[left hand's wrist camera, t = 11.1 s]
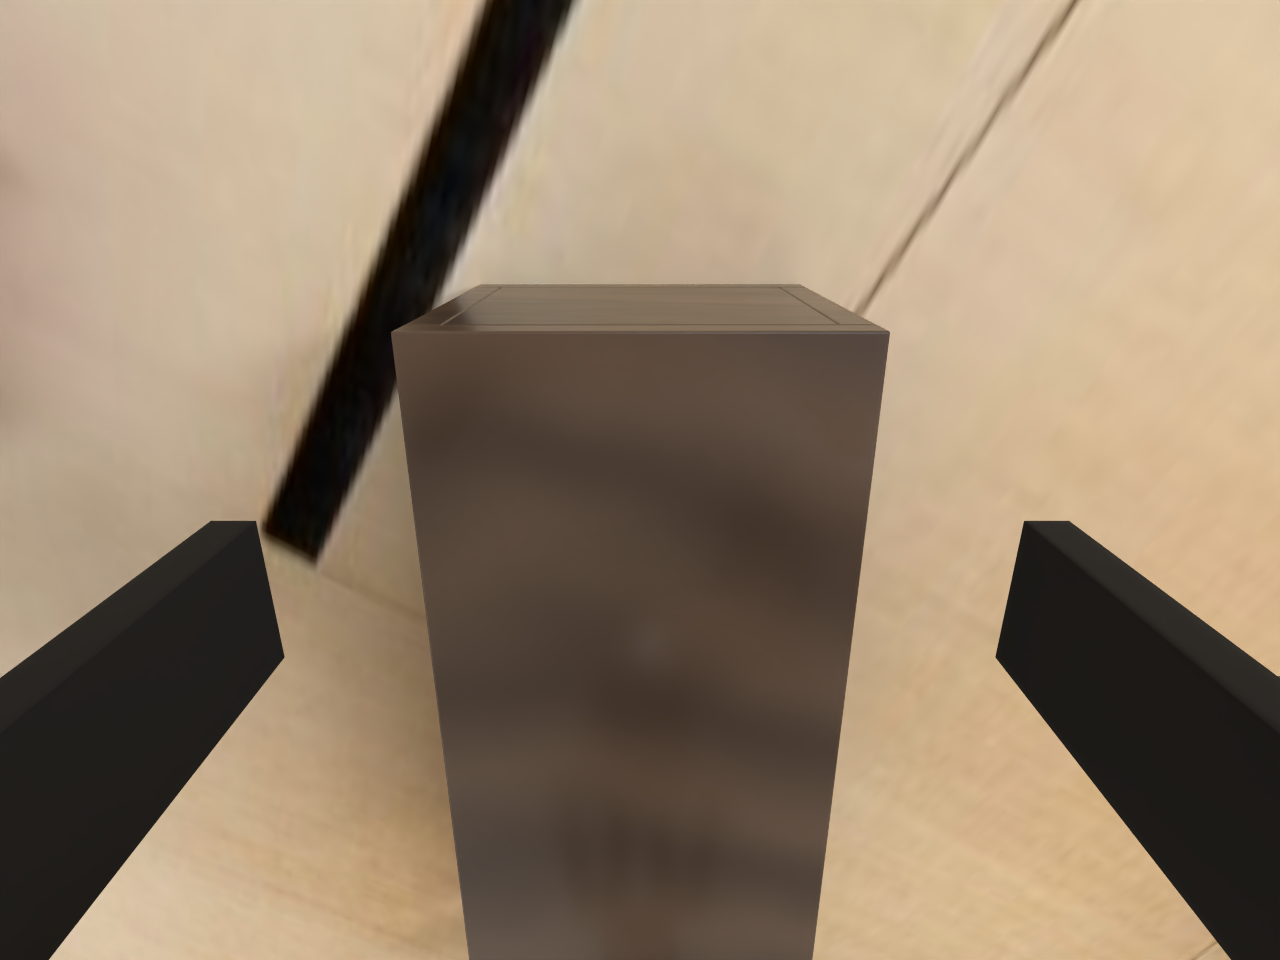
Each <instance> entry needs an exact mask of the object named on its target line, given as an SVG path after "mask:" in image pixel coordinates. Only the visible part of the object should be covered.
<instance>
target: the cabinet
mask: <svg viewBox="0 0 1280 960" xmlns="http://www.w3.org/2000/svg"><path fill="white" fill-rule="evenodd" d="M391 336H392V344H393V352H394V360H395V368H396V376H397V384H398V392H399V400H400V408H401V416H402V424H403V432H404V440H405V448H406V456H407V464H408V472H409V480H410V488H411V496H412V504H413V512H414V520H415V528H416V536H417V544H418V552H419V560H420V568H421V576H422V584H423V592H424V600H425V608H426V616H427V624H428V632H429V640H430V648H431V656H432V665H433V673H434V681H435V689H436V697H437V705H438V713H439V721H440V729H441V737H442V745H443V753H444V761H445V769H446V777H447V785H448V793H449V801H450V809H451V817H452V825H453V833H454V841H455V849H456V857H457V865H458V873H459V881H460V889H461V897H462V905H463V913H464V921H465V929H466V937H467V945H468V953H469V960H812V957H813V949H814V941H815V933H816V925H817V917H818V909H819V901H820V893H821V885H822V877H823V869H824V861H825V852H826V844H827V836H828V828H829V820H830V812H831V804H832V796H833V788H834V780H835V772H836V764H837V756H838V747H839V739H840V731H841V723H842V715H843V707H844V699H845V691H846V683H847V675H848V667H849V659H850V651H851V642H852V634H853V626H854V618H855V610H856V602H857V594H858V586H859V578H860V570H861V562H862V554H863V546H864V537H865V529H866V521H867V513H868V505H869V497H870V489H871V481H872V473H873V465H874V457H875V449H876V441H877V432H878V424H879V416H880V408H881V400H882V392H883V384H884V376H885V368H886V360H887V352H888V344H889V336H890V332H889V331H887V330H886V329H884V328H882V327H880V326H878V325H876V324H874V323H872V322H870V321H868V320H866V319H864V318H862V317H860V316H859V315H857V314H855V313H853V312H851V311H849V310H847V309H845V308H843V307H841V306H840V305H838V304H836V303H834V302H832V301H830V300H828V299H826V298H824V297H823V296H821V295H819V294H817V293H815V292H813V291H811V290H809V289H807V288H806V287H804V286H802V285H479V286H477V287H475V288H474V289H472V290H470V291H468V292H466V293H464V294H462V295H460V296H458V297H457V298H455V299H453V300H451V301H449V302H447V303H445V304H443V305H441V306H440V307H438V308H436V309H434V310H432V311H430V312H428V313H426V314H425V315H423V316H421V317H419V318H417V319H415V320H413V321H411V322H409V323H408V324H406V325H404V326H402V327H400V328H398V329H396V330H394V331H392V333H391Z"/></svg>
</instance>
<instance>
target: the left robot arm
mask: <svg viewBox="0 0 1280 960" xmlns="http://www.w3.org/2000/svg"><path fill="white" fill-rule="evenodd" d="M283 659H284V652H283V648H282V643H281V638H280V633H279V629H278V624H277V619H276V614H275V610H274V605H273V600H272V595H271V591H270V586H269V581H268V576H267V572H266V567H265V562H264V557H263V553H262V548H261V543H260V538H259V534H258V529H257V524H256V521H210V522H209V523H208V524H206V525H205V526H204V527H202V528H201V529H200V530H198V531H197V532H196V533H194V534H193V535H192V536H190V537H189V538H187V539H186V540H185V541H183V542H182V543H181V544H179V545H178V546H177V547H175V548H174V549H173V550H171V551H170V552H169V553H167V554H166V555H165V556H163V557H162V558H161V559H159V560H158V561H157V562H155V563H154V564H153V565H151V566H150V567H149V568H147V569H146V570H145V571H143V572H142V573H141V574H139V575H138V576H137V577H135V578H134V579H132V580H131V581H130V582H128V583H127V584H126V585H124V586H123V587H122V588H120V589H119V590H118V591H116V592H115V593H114V594H112V595H111V596H110V597H108V598H107V599H106V600H104V601H103V602H102V603H100V604H99V605H98V606H96V607H95V608H94V609H92V610H91V611H90V612H88V613H87V614H86V615H84V616H83V617H82V618H80V619H79V620H77V621H76V622H75V623H73V624H72V625H71V626H69V627H68V628H67V629H65V630H64V631H63V632H61V633H60V634H59V635H57V636H56V637H55V638H53V639H52V640H51V641H49V642H48V643H47V644H45V645H44V646H43V647H41V648H40V649H39V650H37V651H36V652H35V653H33V654H32V655H31V656H29V657H28V658H27V659H25V660H24V661H22V662H21V663H20V664H18V665H17V666H16V667H14V668H13V669H12V670H10V671H9V672H8V673H6V674H5V675H4V676H2V677H1V678H0V960H49V959H50V957H51V956H52V955H53V954H54V952H55V951H56V950H57V948H58V947H59V946H60V945H61V943H62V942H63V941H64V939H65V938H66V937H67V936H68V934H69V933H70V932H71V930H72V929H73V928H74V927H75V925H76V924H77V923H78V922H79V920H80V919H81V918H82V916H83V915H84V914H85V913H86V911H87V910H88V909H89V907H90V906H91V905H92V904H93V902H94V901H95V900H96V898H97V897H98V896H99V895H100V893H101V892H102V891H103V889H104V888H105V887H106V886H107V884H108V883H109V882H110V880H111V879H112V878H113V877H114V875H115V874H116V873H117V871H118V870H119V869H120V868H121V866H122V865H123V864H124V863H125V861H126V860H127V859H128V857H129V856H130V855H131V854H132V852H133V851H134V850H135V848H136V847H137V846H138V845H139V843H140V842H141V841H142V839H143V838H144V837H145V836H146V834H147V833H148V832H149V830H150V829H151V828H152V827H153V825H154V824H155V823H156V821H157V820H158V819H159V818H160V816H161V815H162V814H163V812H164V811H165V810H166V809H167V807H168V806H169V805H170V803H171V802H172V801H173V800H174V798H175V797H176V796H177V795H178V793H179V792H180V791H181V789H182V788H183V787H184V786H185V784H186V783H187V782H188V780H189V779H190V778H191V777H192V775H193V774H194V773H195V771H196V770H197V769H198V768H199V766H200V765H201V764H202V762H203V761H204V760H205V759H206V757H207V756H208V755H209V753H210V752H211V751H212V750H213V748H214V747H215V746H216V744H217V743H218V742H219V741H220V739H221V738H222V737H223V735H224V734H225V733H226V732H227V730H228V729H229V728H230V727H231V725H232V724H233V723H234V721H235V720H236V719H237V718H238V716H239V715H240V714H241V712H242V711H243V710H244V709H245V707H246V706H247V705H248V703H249V702H250V701H251V700H252V698H253V697H254V696H255V694H256V693H257V692H258V691H259V689H260V688H261V687H262V685H263V684H264V683H265V682H266V680H267V679H268V678H269V676H270V675H271V674H272V673H273V671H274V670H275V669H276V668H277V666H278V665H279V664H280V662H281V661H282V660H283ZM996 659H997V660H998V661H999V662H1000V664H1001V665H1002V666H1003V668H1004V669H1005V670H1006V671H1007V673H1008V674H1009V675H1010V676H1011V678H1012V679H1013V680H1014V682H1015V683H1016V684H1017V685H1018V687H1019V688H1020V689H1021V691H1022V692H1023V693H1024V694H1025V696H1026V697H1027V698H1028V700H1029V701H1030V702H1031V703H1032V705H1033V706H1034V707H1035V709H1036V710H1037V711H1038V712H1039V714H1040V715H1041V716H1042V718H1043V719H1044V720H1045V721H1046V723H1047V724H1048V725H1049V727H1050V728H1051V729H1052V730H1053V732H1054V733H1055V734H1056V735H1057V737H1058V738H1059V739H1060V741H1061V742H1062V743H1063V744H1064V746H1065V747H1066V748H1067V750H1068V751H1069V752H1070V753H1071V755H1072V756H1073V757H1074V759H1075V760H1076V761H1077V762H1078V764H1079V765H1080V766H1081V768H1082V769H1083V770H1084V771H1085V773H1086V774H1087V775H1088V777H1089V778H1090V779H1091V780H1092V782H1093V783H1094V784H1095V786H1096V787H1097V788H1098V789H1099V791H1100V792H1101V793H1102V795H1103V796H1104V797H1105V798H1106V800H1107V801H1108V802H1109V803H1110V805H1111V806H1112V807H1113V809H1114V810H1115V811H1116V812H1117V814H1118V815H1119V816H1120V818H1121V819H1122V820H1123V821H1124V823H1125V824H1126V825H1127V827H1128V828H1129V829H1130V830H1131V832H1132V833H1133V834H1134V836H1135V837H1136V838H1137V839H1138V841H1139V842H1140V843H1141V845H1142V846H1143V847H1144V848H1145V850H1146V851H1147V852H1148V854H1149V855H1150V856H1151V857H1152V859H1153V860H1154V861H1155V863H1156V864H1157V865H1158V866H1159V868H1160V869H1161V870H1162V871H1163V873H1164V874H1165V875H1166V877H1167V878H1168V879H1169V880H1170V882H1171V883H1172V884H1173V886H1174V887H1175V888H1176V889H1177V891H1178V892H1179V893H1180V895H1181V896H1182V897H1183V898H1184V900H1185V901H1186V902H1187V904H1188V905H1189V906H1190V907H1191V909H1192V910H1193V911H1194V913H1195V914H1196V915H1197V916H1198V918H1199V919H1200V920H1201V922H1202V923H1203V924H1204V925H1205V927H1206V928H1207V929H1208V930H1209V932H1210V933H1211V934H1212V936H1213V937H1214V938H1215V939H1216V941H1217V942H1218V943H1219V945H1220V946H1221V947H1222V948H1223V950H1224V951H1225V952H1226V954H1227V955H1228V956H1229V957H1230V959H1231V960H1280V676H1276V675H1275V674H1274V673H1272V672H1271V671H1270V670H1268V669H1267V668H1266V667H1264V666H1263V665H1262V664H1260V663H1259V662H1258V661H1256V660H1255V659H1253V658H1252V657H1251V656H1249V655H1248V654H1247V653H1245V652H1244V651H1243V650H1241V649H1240V648H1239V647H1237V646H1236V645H1235V644H1233V643H1232V642H1231V641H1229V640H1228V639H1227V638H1225V637H1224V636H1223V635H1221V634H1220V633H1219V632H1217V631H1216V630H1215V629H1213V628H1212V627H1211V626H1209V625H1208V624H1207V623H1205V622H1204V621H1202V620H1201V619H1200V618H1198V617H1197V616H1196V615H1194V614H1193V613H1192V612H1190V611H1189V610H1188V609H1186V608H1185V607H1184V606H1182V605H1181V604H1180V603H1178V602H1177V601H1176V600H1174V599H1173V598H1172V597H1170V596H1169V595H1168V594H1166V593H1165V592H1164V591H1162V590H1161V589H1160V588H1158V587H1157V586H1156V585H1154V584H1153V583H1152V582H1150V581H1149V580H1147V579H1146V578H1145V577H1143V576H1142V575H1141V574H1139V573H1138V572H1137V571H1135V570H1134V569H1133V568H1131V567H1130V566H1129V565H1127V564H1126V563H1125V562H1123V561H1122V560H1121V559H1119V558H1118V557H1117V556H1115V555H1114V554H1113V553H1111V552H1110V551H1109V550H1107V549H1106V548H1105V547H1103V546H1102V545H1101V544H1099V543H1098V542H1097V541H1095V540H1094V539H1092V538H1091V537H1090V536H1088V535H1087V534H1086V533H1084V532H1083V531H1082V530H1080V529H1079V528H1078V527H1076V526H1075V525H1074V524H1072V523H1071V522H1070V521H1024V524H1023V529H1022V534H1021V538H1020V543H1019V548H1018V553H1017V557H1016V562H1015V567H1014V572H1013V576H1012V581H1011V586H1010V591H1009V595H1008V600H1007V605H1006V610H1005V614H1004V619H1003V624H1002V629H1001V633H1000V638H999V643H998V648H997V652H996Z"/></svg>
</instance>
